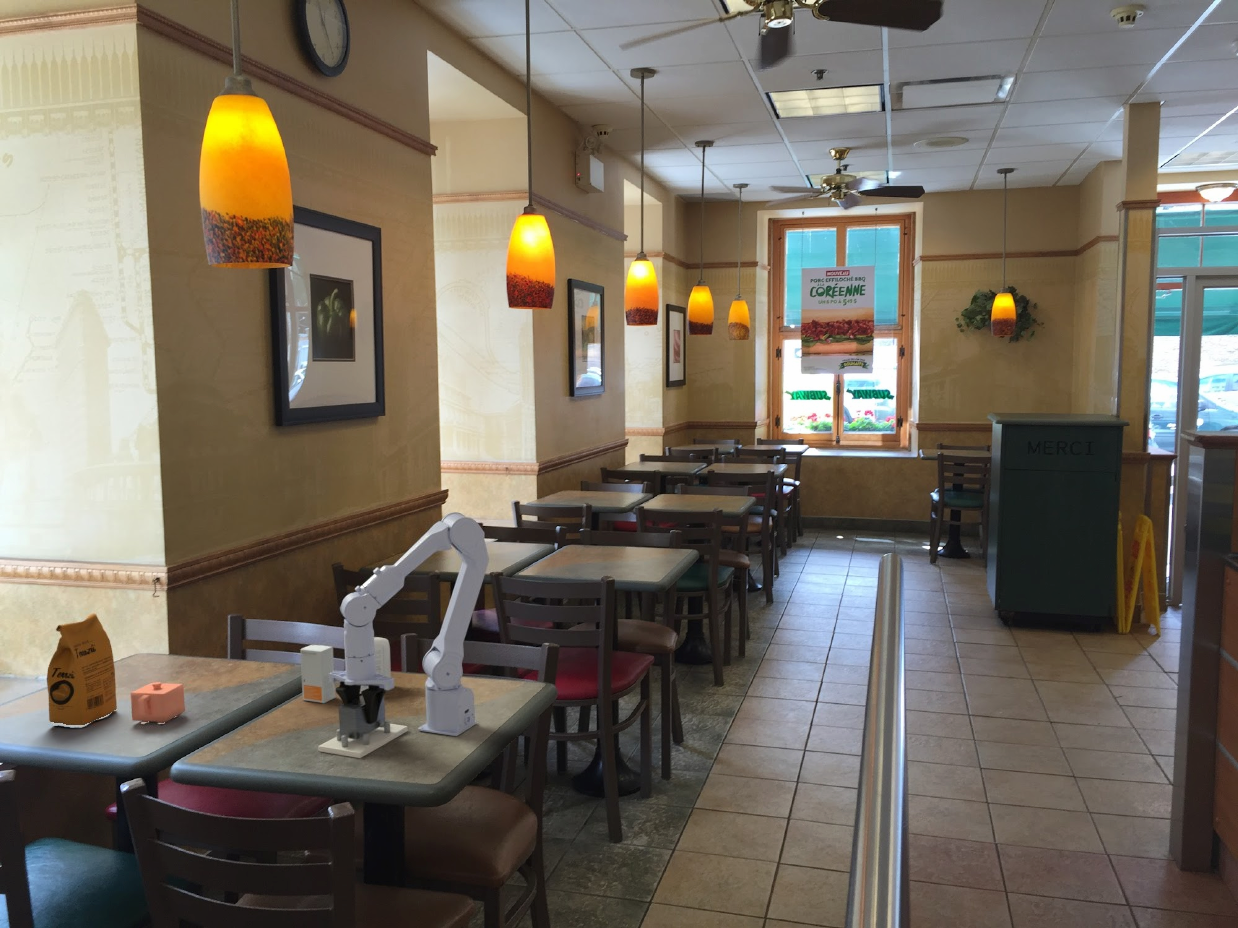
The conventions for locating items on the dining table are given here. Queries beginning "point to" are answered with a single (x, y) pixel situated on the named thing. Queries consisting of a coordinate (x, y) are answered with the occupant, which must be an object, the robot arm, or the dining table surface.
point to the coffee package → (81, 674)
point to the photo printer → (381, 658)
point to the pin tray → (362, 741)
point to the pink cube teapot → (157, 702)
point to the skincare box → (317, 673)
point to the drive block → (358, 718)
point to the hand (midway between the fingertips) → (363, 720)
